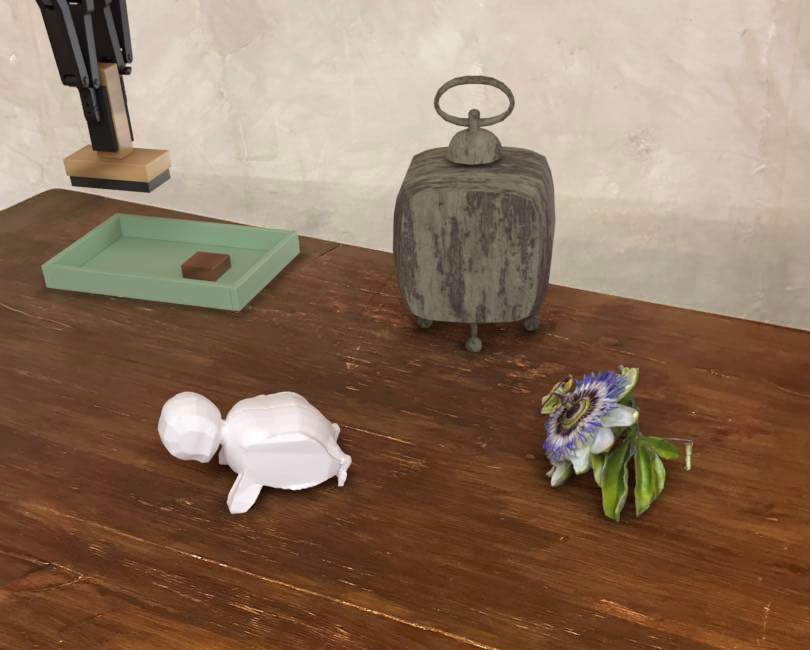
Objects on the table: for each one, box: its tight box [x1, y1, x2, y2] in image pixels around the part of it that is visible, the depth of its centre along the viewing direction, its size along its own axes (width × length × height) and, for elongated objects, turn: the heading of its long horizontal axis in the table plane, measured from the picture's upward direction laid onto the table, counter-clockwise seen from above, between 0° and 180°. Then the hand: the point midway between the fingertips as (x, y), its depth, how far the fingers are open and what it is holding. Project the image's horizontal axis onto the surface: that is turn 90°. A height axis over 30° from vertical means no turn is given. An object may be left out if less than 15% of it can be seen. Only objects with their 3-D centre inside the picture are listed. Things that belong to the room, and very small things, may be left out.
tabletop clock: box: [392, 75, 556, 354], centre depth 103 cm, size 14×9×25 cm, turn 82°
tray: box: [40, 212, 301, 312], centre depth 125 cm, size 24×16×3 cm, turn 71°
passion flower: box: [536, 364, 695, 523], centre depth 88 cm, size 11×11×12 cm
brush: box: [62, 62, 172, 194], centre depth 118 cm, size 10×5×12 cm, turn 70°
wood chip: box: [181, 251, 231, 282], centre depth 124 cm, size 4×4×2 cm
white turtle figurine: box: [157, 391, 352, 515], centre depth 90 cm, size 9×8×15 cm
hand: (113, 145), depth 119 cm, fingers closed on brush, 2 cm apart
